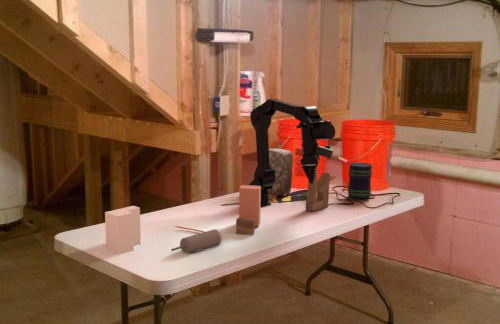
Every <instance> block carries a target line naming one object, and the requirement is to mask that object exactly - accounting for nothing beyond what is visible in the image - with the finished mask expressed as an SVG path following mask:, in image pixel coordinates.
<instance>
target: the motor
mask: <svg viewBox="0 0 500 324" xmlns="http://www.w3.org/2000/svg"><path fill="white" fill-rule="evenodd" d="M174 228H177V229H179V231H180V232H182V231H183V232H187V233H194V234H193V235H189V236H186V237H182V238H181V239H180V241H179V246H177V247H174V248H171V252H174V251H176V250H181V251H182V253H185V254H187V255H188V254H191V253H194V252H198V251H200V250H201V251H202V250H204V249H208V248H210V247H211V248H212V247H214V246H217V245H220V244H222V241H223V234H222V232H221V231H220V230H219V229H217V228H214V229H212V230H211V229H210V230H207V231H204V230H199V229H195V228H189V227H183V226H179V225H178V226H177V225H174ZM183 229H184V230H183Z"/></svg>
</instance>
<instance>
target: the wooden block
mask: <svg viewBox="0 0 500 324" xmlns="http://www.w3.org/2000/svg"><path fill="white" fill-rule="evenodd" d="M318 170H319V169H318V166H317V167H316V170H315V177H314V180H313V183H311V184H310V182H309V180H308V179H307V201H306V200H305V211H309V212H315V211H319V210H322V209H326V208H328V207H329V196H330V177H331V176H330V175H331V173H329V172H322V173H321V175H320V176H319V178H318V172H319V171H318Z"/></svg>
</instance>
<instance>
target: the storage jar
mask: <svg viewBox="0 0 500 324" xmlns="http://www.w3.org/2000/svg"><path fill="white" fill-rule="evenodd" d="M348 167H349V168H348V177H349V179H348V185H347V199H349V200H353V201H360V202H361V201H365V202H366V201H369V200H371V194H372V190H371V189H372V186H371V179H372V176H373V175H372V174H373V171H372V170H373V168H372V167H373V165H372V164H371V163H370V162H369V163H368V162H357V161H356V162H350V163H349V164H348Z"/></svg>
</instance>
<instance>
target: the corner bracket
mask: <svg viewBox="0 0 500 324" xmlns="http://www.w3.org/2000/svg"><path fill="white" fill-rule="evenodd" d="M104 220H105V221H104V223H105V226H104V227H105V249H106V251H108V252H112V253H114V254H116V255H122V254H126V253H129V252H133V251H134V246H138V245H141V208H140V207H138V206H135V205H131V206H126V207H122V208H118V209H113V210H109V211H104Z"/></svg>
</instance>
